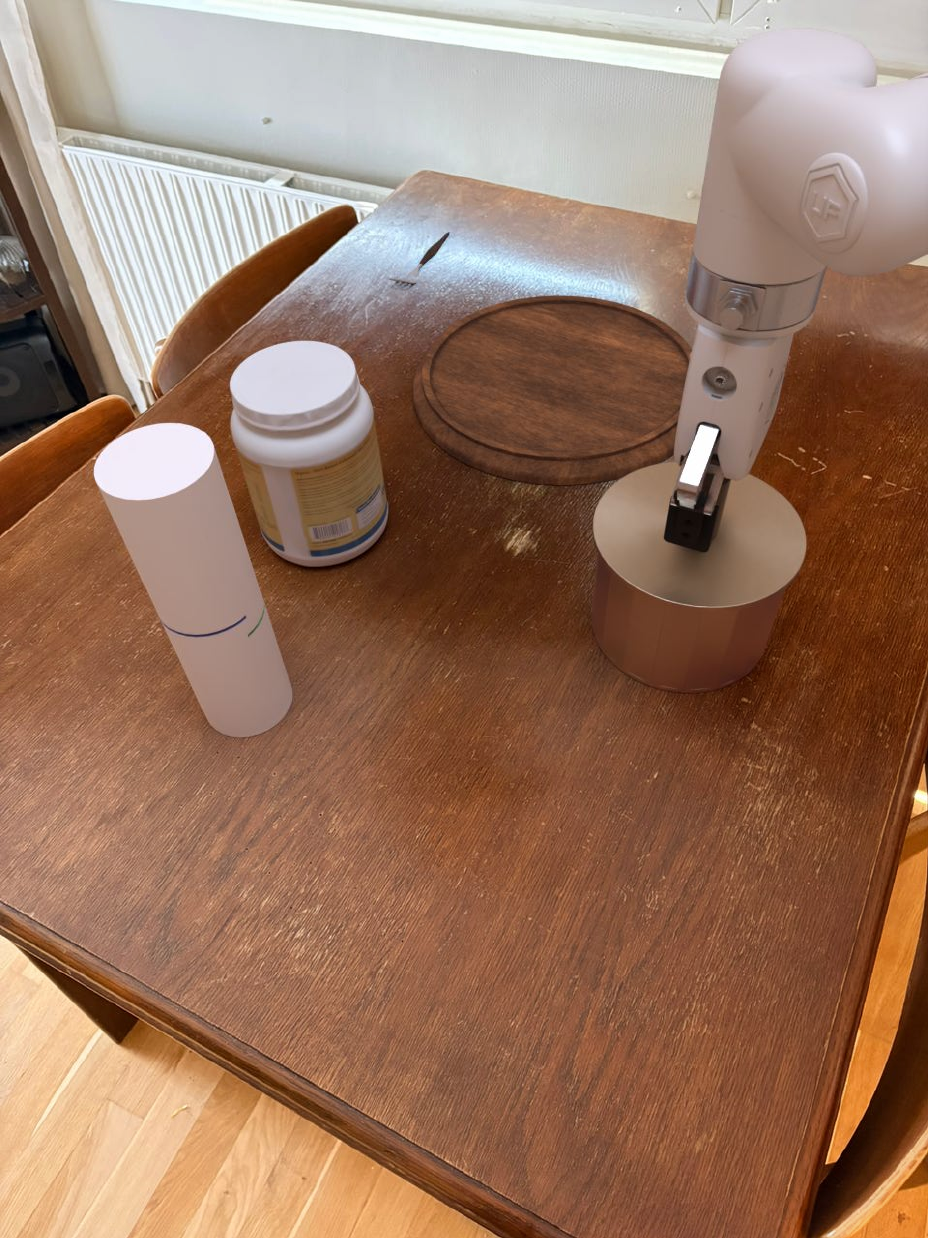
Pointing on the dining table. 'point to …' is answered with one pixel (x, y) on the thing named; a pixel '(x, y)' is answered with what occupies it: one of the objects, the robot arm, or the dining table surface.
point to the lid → (688, 579)
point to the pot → (677, 638)
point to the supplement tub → (309, 452)
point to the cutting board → (554, 390)
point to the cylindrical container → (197, 572)
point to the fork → (424, 260)
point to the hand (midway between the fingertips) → (706, 501)
